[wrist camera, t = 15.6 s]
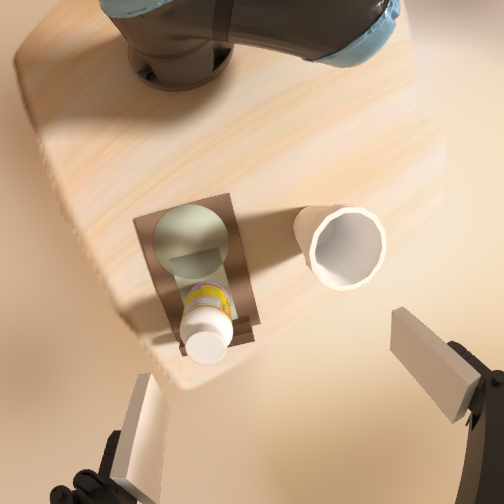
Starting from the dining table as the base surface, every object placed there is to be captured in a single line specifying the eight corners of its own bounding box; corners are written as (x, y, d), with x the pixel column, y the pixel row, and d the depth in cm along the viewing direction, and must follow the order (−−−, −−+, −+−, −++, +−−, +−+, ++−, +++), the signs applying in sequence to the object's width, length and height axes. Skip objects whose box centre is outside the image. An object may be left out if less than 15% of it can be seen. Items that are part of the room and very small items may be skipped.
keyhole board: (135, 218, 39) (123, 225, 33) (229, 192, 39) (230, 196, 34) (178, 340, 45) (174, 360, 40) (260, 322, 45) (265, 340, 40)
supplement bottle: (225, 322, 44) (229, 375, 32) (184, 315, 43) (173, 366, 31) (233, 284, 42) (240, 329, 30) (189, 276, 41) (179, 319, 29)
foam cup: (282, 258, 43) (307, 294, 30) (282, 195, 40) (309, 208, 28) (340, 254, 44) (382, 285, 31) (343, 195, 41) (389, 207, 29)
